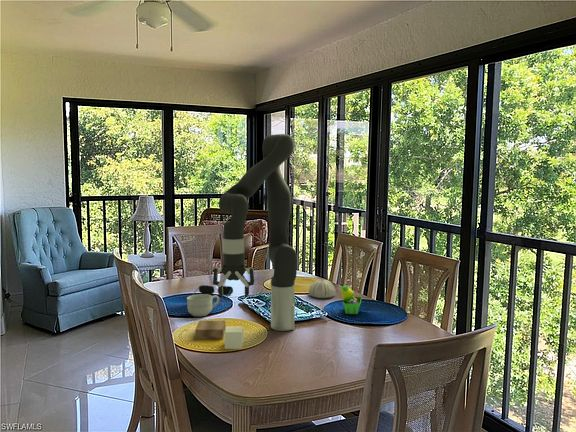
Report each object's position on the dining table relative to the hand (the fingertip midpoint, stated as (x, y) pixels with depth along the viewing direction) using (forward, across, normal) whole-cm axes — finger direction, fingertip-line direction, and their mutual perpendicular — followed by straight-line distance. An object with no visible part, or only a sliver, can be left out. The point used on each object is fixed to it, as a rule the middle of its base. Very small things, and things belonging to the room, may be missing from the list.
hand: (233, 296), depth 165 cm
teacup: (+18, +17, -35) cm, 43 cm away
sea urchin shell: (+18, -36, -65) cm, 76 cm away
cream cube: (+18, 0, 0) cm, 18 cm away
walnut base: (+18, +10, -11) cm, 23 cm away
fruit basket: (+18, -47, -41) cm, 65 cm away
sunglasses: (+18, +17, -60) cm, 65 cm away
